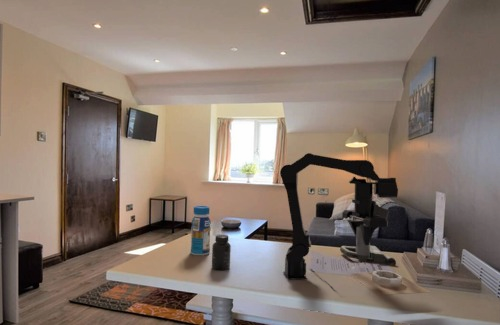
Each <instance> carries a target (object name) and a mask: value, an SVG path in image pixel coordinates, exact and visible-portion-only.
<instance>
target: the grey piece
mask: <svg viewBox="0 0 500 325" xmlns="http://www.w3.org/2000/svg"><path fill="white" fill-rule="evenodd" d="M339 251H340V252H341V253H342V254H343V255H344V256H345V257H347V258H350V259H356V260H358V261H359V263H364V264H365V263H375V264H381V265H383V264H384V265H389V266H396V264H397V261H396V259H395V258H394V257H391V256H389V255H387V254H384V253H383V252H382V251H381V250H380V249H379V248H378V247H377V246H375V245H370V255H368V256H363V255H358V254H356V246H350V245H348V246H347V245H342V246H340V248H339Z"/></svg>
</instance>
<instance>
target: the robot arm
mask: <svg viewBox="0 0 500 325" xmlns="http://www.w3.org/2000/svg"><path fill="white" fill-rule="evenodd" d="M309 166H319V167H323V168H329V169H335V170H338V171H339V170H340V171H344V172H346V173H349V174H351V175H354V176H352V178H351V179H350V180H349V181H348V183H349V184H354V199H352V200H351V202H352V204H354V208H353V209H344V210H343V211H342V214H341V215H342V218H343V219H346V221H347V223H348V224H349V227H350V228H351V230H352V232H353V234H354V237H355V238H356V226H360V228H361V231H362V235H363V239H364V243H365V245H369V243H370V244H371V240H372V237H373V235H374V233H375V231H376V230H377V229H378V228H388V224H389V222H388V215H389V213H390V210H389V209H386V208H383V207H381V206H379V204H377V201H376V200H374V199H373V194H374V195H376V196H377V198H378V199H379V198H382V199H397V198H398V193H399V188H398V183H397V179H396V177H379V175H378V174H377V173H376V172H375V167H374V164H373V163H372V162H371V161H370V160H368V159H367V160H366V159H342V158H340V159H339V158H335V157H331V156H324V155H317V154H313V153H311V152H310V153H309V152H307V153H305V154H304V155H303V156H302V157H301V158H299V159H297V160H296V161H294V162H293V163H291V164H286V165H283V166H282V167H281V169H280V171H279V173H280V174H279V175H280V177H281V181H282V184H283V186H284V189H285V191H286V195H287V201H288V208H289V214H290V219H291V220H290V221H291V226H292V245H291V246H290V247H288V248H287V251H286V255H285V259H284V261H285V262H284V271H283V272H282V273H283V275H284V276H286V278H287V279H288V280H301V279H303V280H304V279H307V276H306V275H307V263H306V259H305V258H304V257H306V256H308V254H309V252H310V248H312V241H311V239H310V231H307V232H306V230H305V227H304V223H303V222H304V221H303V216H302V208H301V204H300V197H299V191H298V182H299V180H298V179H299V173H300V172H301V171H303V170H305V169H306V168H307V167H309ZM356 176H357V177H361V178H356ZM366 179H368V180H370V181H367V180H366ZM374 181H375V182H374Z"/></svg>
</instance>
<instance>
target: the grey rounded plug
mask: <svg viewBox="0 0 500 325" xmlns="http://www.w3.org/2000/svg"><path fill="white" fill-rule="evenodd" d="M355 239H356V240H355V247H356V254H358V255H363V256H368V255H370V246H371V242H370V243H369V245H365V243H364V239H363V235H362V231H361V228H360V226H356V237H355Z"/></svg>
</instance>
